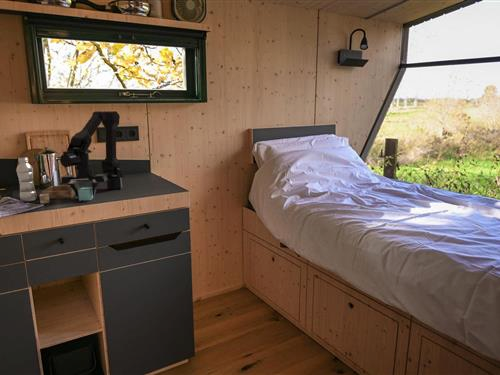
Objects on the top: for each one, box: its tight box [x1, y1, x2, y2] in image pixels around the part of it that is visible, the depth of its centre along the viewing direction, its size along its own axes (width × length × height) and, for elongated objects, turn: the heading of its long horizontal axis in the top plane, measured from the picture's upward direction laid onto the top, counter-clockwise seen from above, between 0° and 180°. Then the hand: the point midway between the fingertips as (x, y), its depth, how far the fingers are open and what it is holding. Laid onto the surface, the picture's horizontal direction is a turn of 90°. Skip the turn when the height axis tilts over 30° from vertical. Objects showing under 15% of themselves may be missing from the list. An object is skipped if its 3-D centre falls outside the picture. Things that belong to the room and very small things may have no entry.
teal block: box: [78, 186, 94, 201], centre depth 172 cm, size 5×5×5 cm
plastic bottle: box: [16, 156, 37, 203], centre depth 167 cm, size 6×7×20 cm
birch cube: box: [39, 193, 51, 204], centre depth 167 cm, size 4×4×4 cm
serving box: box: [40, 184, 80, 200], centre depth 179 cm, size 13×13×4 cm
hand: (86, 196), depth 173 cm, fingers open, 6 cm apart
